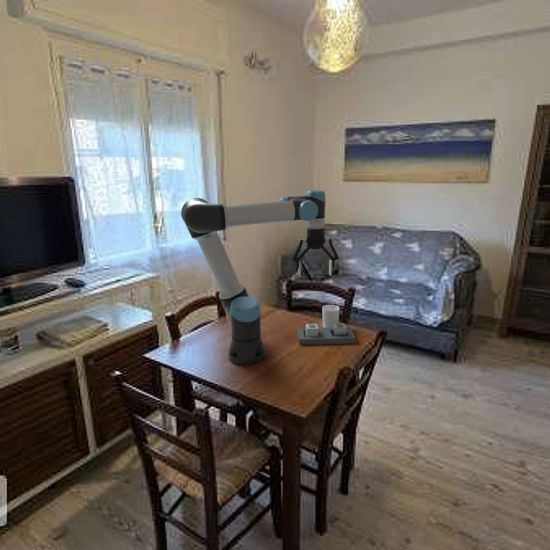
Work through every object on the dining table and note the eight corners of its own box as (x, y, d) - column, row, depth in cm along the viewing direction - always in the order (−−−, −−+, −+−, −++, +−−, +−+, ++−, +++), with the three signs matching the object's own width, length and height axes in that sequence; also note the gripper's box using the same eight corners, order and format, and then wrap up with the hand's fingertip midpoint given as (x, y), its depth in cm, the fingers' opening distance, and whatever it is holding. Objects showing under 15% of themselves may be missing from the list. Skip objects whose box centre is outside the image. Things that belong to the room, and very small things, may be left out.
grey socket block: (299, 344, 171) (299, 331, 169) (297, 333, 182) (297, 320, 180) (355, 343, 172) (355, 329, 170) (349, 332, 182) (350, 319, 180)
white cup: (338, 324, 191) (339, 304, 188) (339, 331, 183) (340, 311, 180) (321, 324, 191) (322, 304, 189) (321, 331, 184) (322, 310, 181)
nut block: (334, 341, 174) (335, 327, 172) (332, 336, 179) (332, 322, 177) (346, 340, 174) (346, 327, 173) (343, 335, 179) (344, 322, 177)
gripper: (287, 229, 166) (287, 278, 173) (346, 228, 167) (344, 277, 173) (285, 226, 174) (286, 273, 180) (343, 225, 174) (341, 272, 180)
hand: (315, 275), depth 176 cm, fingers open, 13 cm apart
